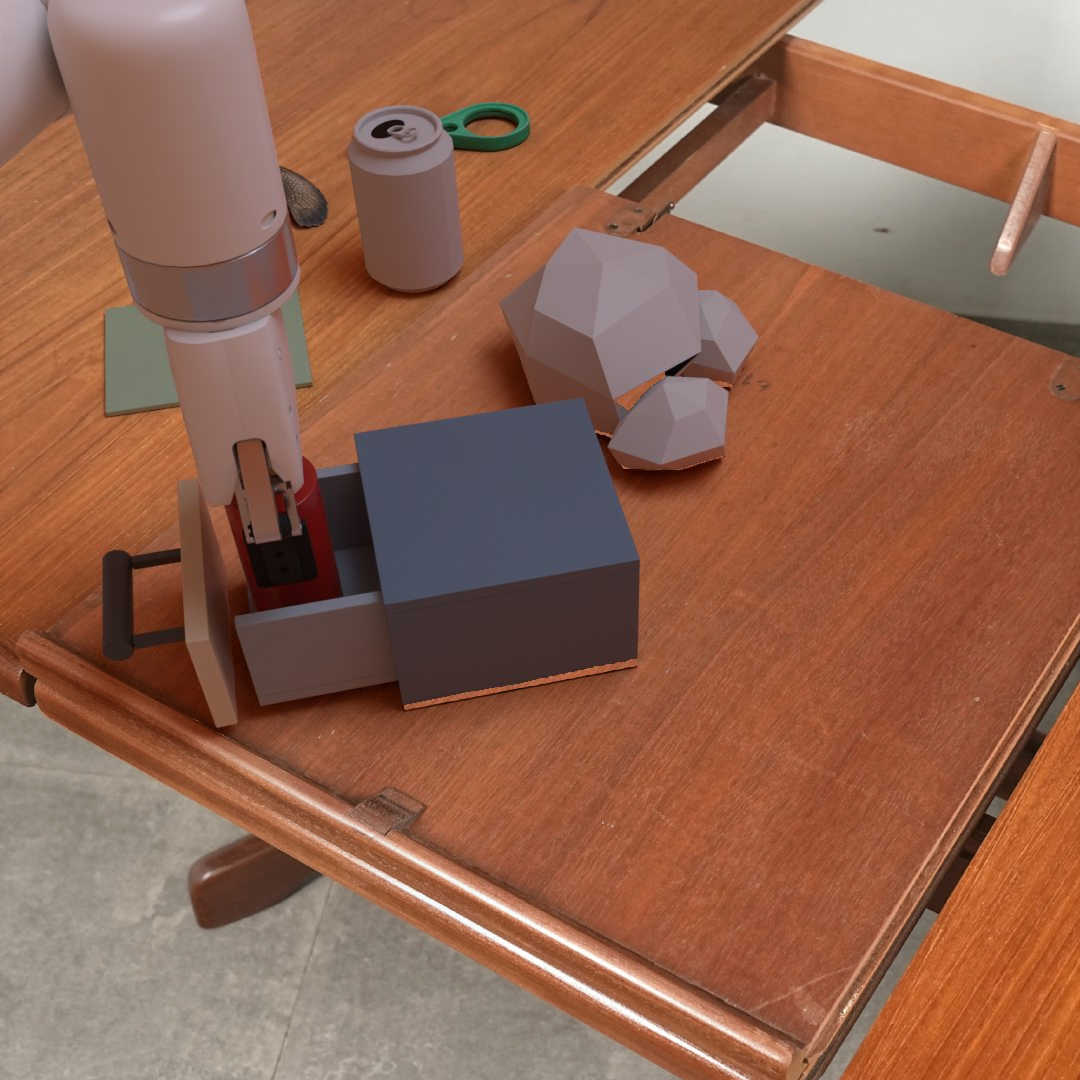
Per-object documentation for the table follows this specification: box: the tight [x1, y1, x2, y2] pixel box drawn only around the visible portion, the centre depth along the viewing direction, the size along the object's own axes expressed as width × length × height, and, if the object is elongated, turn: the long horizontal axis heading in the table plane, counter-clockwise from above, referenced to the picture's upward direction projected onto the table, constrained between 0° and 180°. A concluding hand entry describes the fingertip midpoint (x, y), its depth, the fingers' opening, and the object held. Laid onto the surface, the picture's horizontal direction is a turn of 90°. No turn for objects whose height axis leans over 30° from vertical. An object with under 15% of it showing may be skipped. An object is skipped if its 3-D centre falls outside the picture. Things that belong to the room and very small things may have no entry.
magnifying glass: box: [350, 101, 531, 152], centre depth 117 cm, size 15×6×2 cm, turn 108°
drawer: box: [101, 462, 399, 728], centre depth 77 cm, size 17×12×7 cm
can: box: [346, 104, 465, 294], centre depth 101 cm, size 8×8×12 cm
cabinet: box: [352, 398, 641, 706], centre depth 79 cm, size 14×14×9 cm
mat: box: [104, 286, 314, 418], centre depth 99 cm, size 14×12×1 cm
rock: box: [498, 226, 760, 471], centre depth 92 cm, size 18×20×10 cm
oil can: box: [223, 455, 344, 612], centre depth 75 cm, size 5×5×12 cm
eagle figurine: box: [279, 165, 329, 228], centre depth 108 cm, size 8×7×9 cm
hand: (282, 536), depth 75 cm, fingers open, 5 cm apart
